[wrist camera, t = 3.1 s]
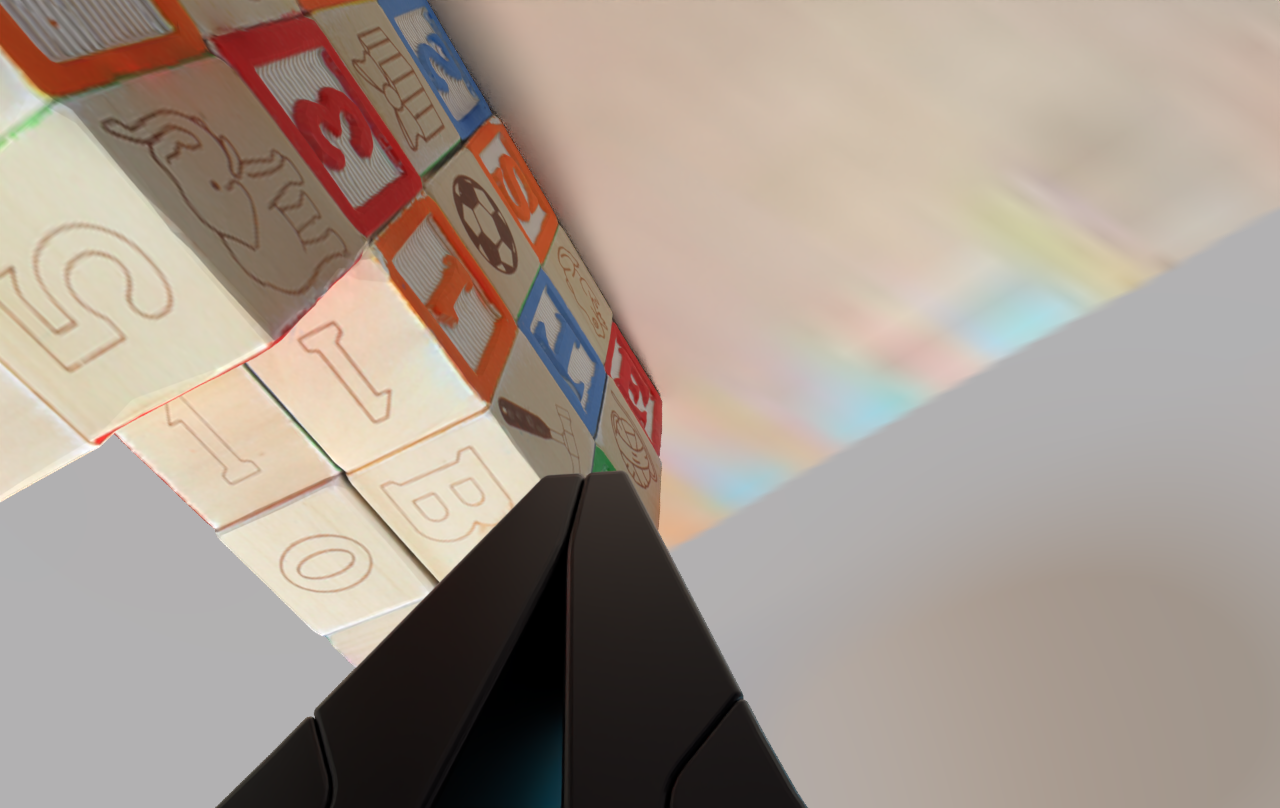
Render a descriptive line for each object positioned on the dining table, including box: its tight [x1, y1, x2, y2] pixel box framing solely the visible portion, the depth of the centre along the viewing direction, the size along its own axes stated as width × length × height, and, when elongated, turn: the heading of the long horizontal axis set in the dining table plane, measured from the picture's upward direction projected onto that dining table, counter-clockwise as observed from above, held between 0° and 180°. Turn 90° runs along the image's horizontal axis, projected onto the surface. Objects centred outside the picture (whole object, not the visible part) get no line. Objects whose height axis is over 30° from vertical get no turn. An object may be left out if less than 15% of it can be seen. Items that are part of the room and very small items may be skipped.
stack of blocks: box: [0, 0, 662, 668], centre depth 14 cm, size 21×6×12 cm, turn 28°
